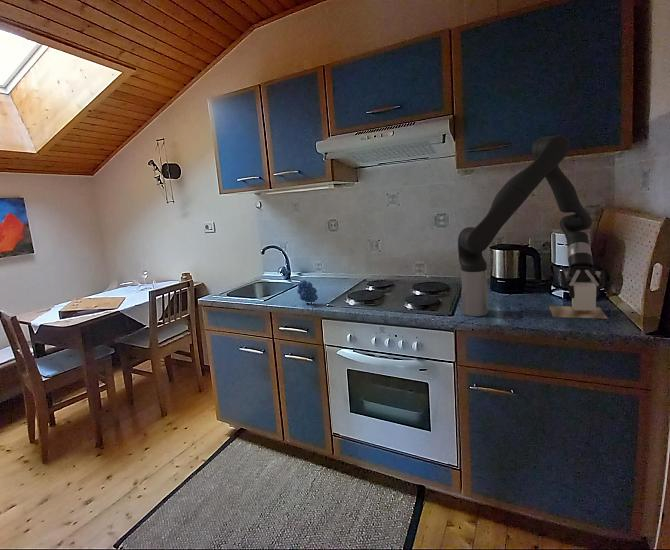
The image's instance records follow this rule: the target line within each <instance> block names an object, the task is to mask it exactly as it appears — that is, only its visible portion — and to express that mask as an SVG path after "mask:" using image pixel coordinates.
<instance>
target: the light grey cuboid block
mask: <svg viewBox="0 0 670 550" xmlns="http://www.w3.org/2000/svg"><path fill="white" fill-rule="evenodd" d="M573 287H574V298H572V297H571V307H573V308H574V310H592V311H596V307H597V299H596V285H595V284H593V283H590V282H575V283H574V284H573Z"/></svg>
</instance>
